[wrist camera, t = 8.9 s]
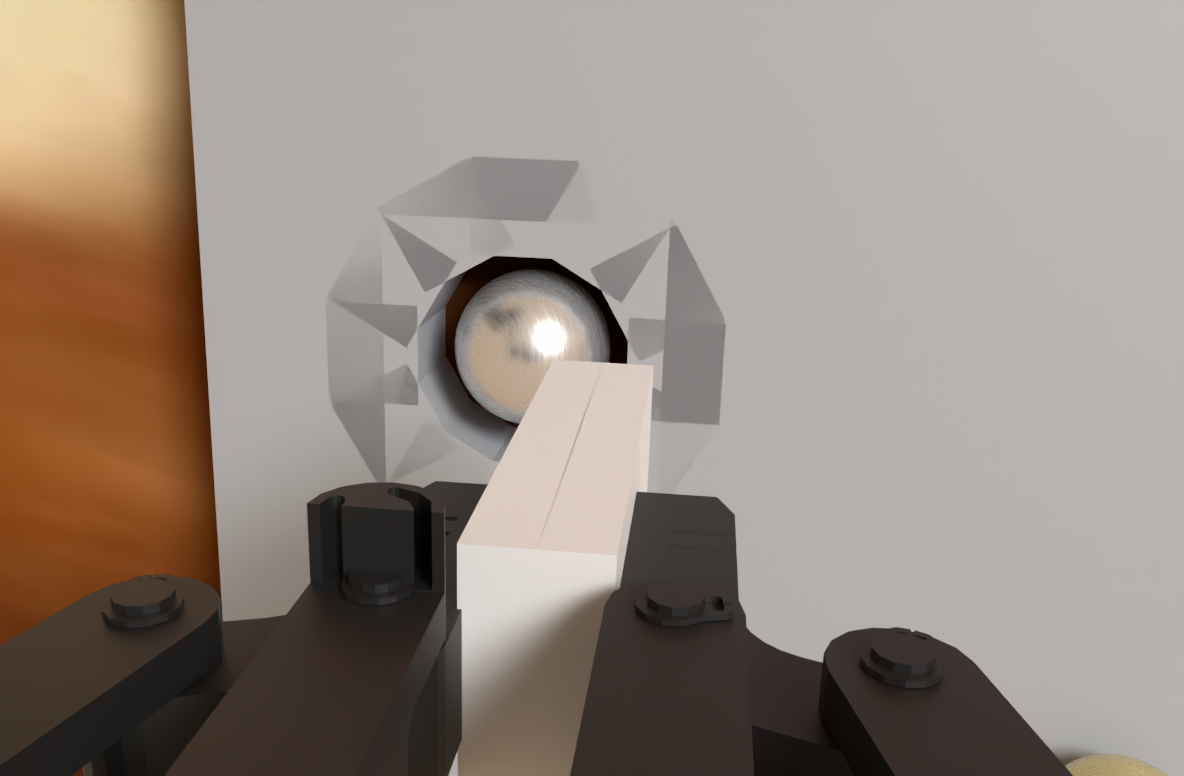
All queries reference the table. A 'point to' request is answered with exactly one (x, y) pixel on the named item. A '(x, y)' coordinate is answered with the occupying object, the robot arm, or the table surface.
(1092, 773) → the brass ball
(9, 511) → the table surface
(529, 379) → the steel ball
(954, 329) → the plate
